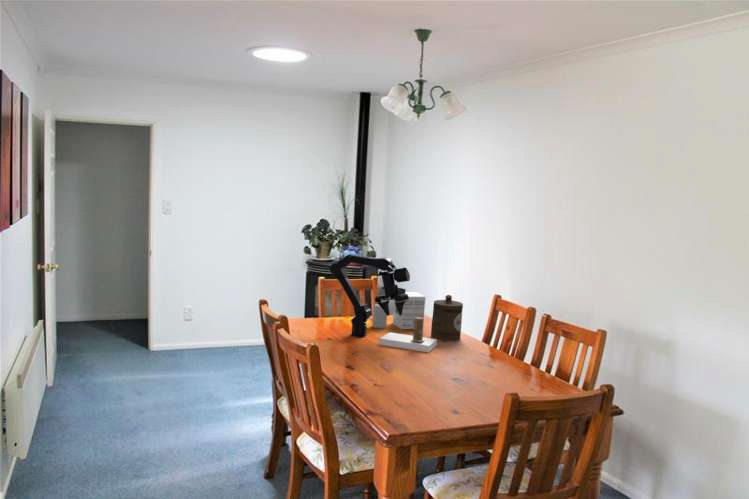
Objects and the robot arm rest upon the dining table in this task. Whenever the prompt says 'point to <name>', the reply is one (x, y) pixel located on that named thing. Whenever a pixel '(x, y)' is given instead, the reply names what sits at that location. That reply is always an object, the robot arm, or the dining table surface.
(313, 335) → the dining table surface
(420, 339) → the walnut peg
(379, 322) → the can
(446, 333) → the wooden container
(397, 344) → the grey board
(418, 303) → the supplement box
